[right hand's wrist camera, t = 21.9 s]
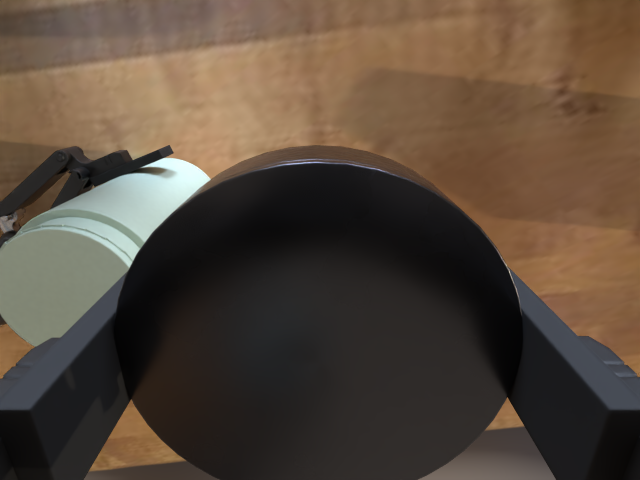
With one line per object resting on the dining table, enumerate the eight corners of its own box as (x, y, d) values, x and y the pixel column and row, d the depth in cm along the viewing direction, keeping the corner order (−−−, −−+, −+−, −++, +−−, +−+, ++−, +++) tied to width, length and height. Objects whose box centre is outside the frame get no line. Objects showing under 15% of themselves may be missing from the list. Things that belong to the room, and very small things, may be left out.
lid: (84, 317, 13) (34, 367, 11) (313, 55, 10) (312, 48, 8) (322, 480, 15) (322, 546, 13) (554, 310, 13) (605, 359, 10)
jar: (227, 170, 41) (160, 240, 22) (214, 256, 44) (146, 378, 26) (129, 148, 40) (-26, 202, 21) (123, 238, 43) (-15, 351, 25)
